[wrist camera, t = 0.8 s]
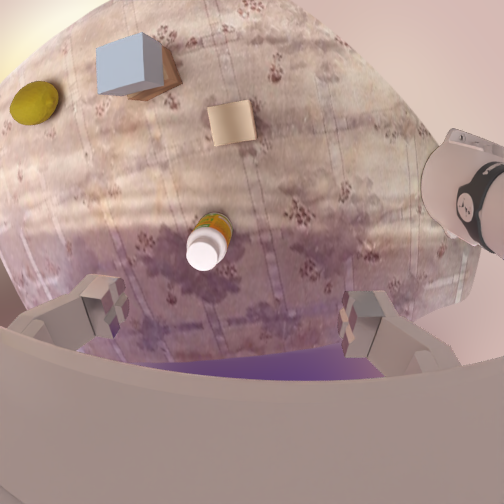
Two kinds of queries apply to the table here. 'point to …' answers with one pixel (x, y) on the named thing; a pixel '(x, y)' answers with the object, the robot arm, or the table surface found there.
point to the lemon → (34, 103)
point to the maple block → (232, 123)
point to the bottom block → (169, 76)
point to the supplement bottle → (209, 241)
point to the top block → (129, 65)
